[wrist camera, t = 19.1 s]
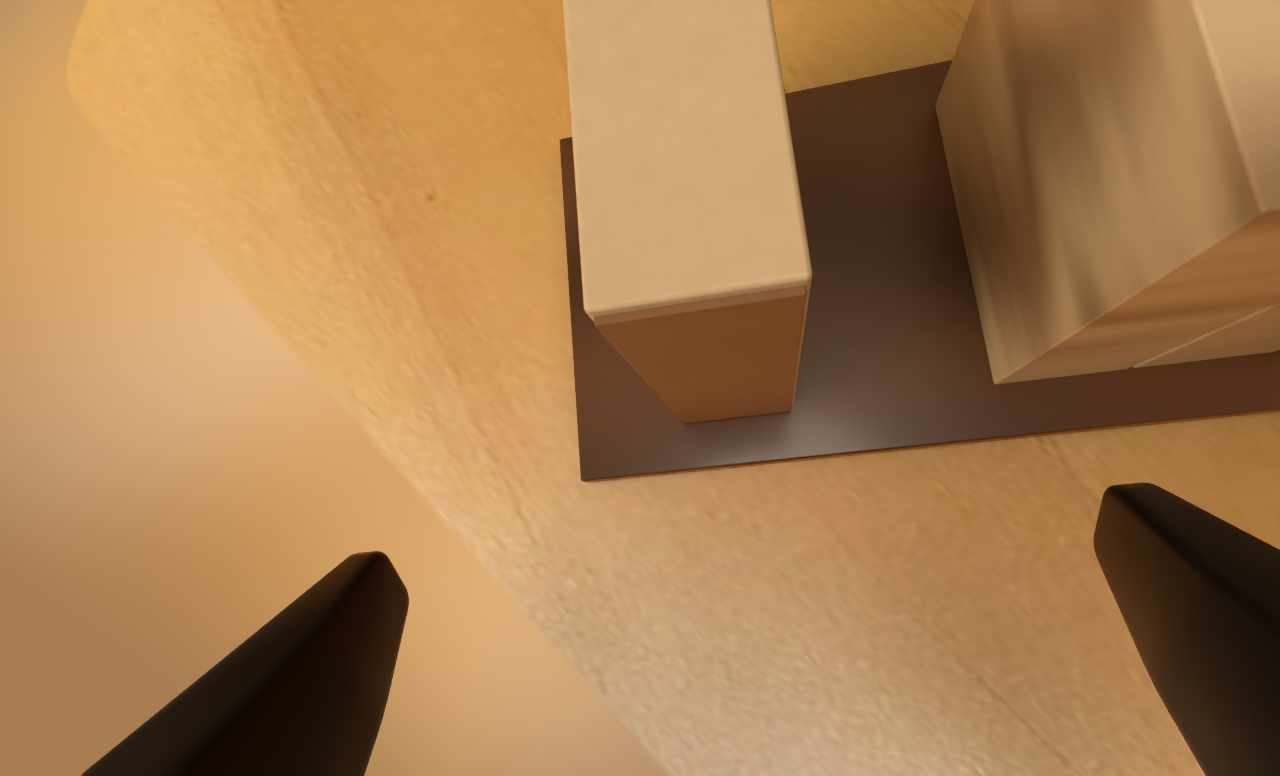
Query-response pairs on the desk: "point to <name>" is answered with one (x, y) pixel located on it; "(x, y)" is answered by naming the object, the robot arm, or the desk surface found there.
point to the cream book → (689, 199)
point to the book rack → (1008, 245)
